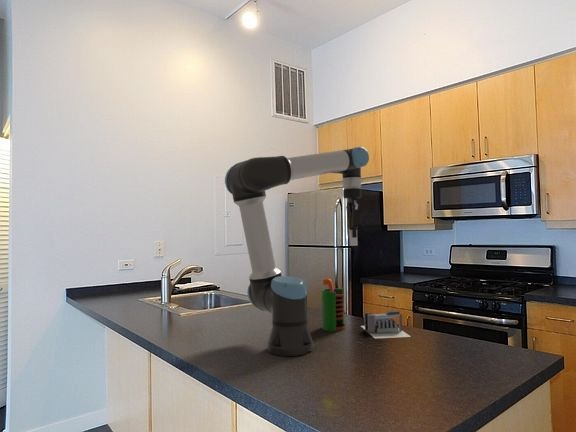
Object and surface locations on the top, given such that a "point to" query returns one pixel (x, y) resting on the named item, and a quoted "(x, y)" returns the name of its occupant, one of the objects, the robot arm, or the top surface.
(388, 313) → the grey-blue slender bar
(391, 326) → the heatsink
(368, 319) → the mount
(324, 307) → the motor
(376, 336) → the board
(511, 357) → the top surface
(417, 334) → the top surface
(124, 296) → the top surface
